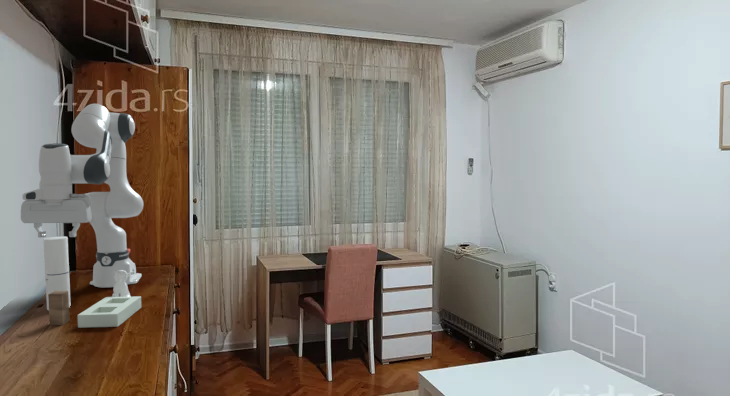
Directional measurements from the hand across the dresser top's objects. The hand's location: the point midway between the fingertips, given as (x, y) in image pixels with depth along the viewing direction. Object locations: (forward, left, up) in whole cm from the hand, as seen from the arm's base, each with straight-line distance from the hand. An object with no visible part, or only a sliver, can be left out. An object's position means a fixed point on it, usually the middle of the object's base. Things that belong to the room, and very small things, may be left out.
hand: (57, 237), depth 156 cm
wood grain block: (+2, 0, -28) cm, 28 cm away
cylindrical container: (-15, -9, -28) cm, 33 cm away
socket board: (-3, +14, -28) cm, 31 cm away
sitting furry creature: (-20, +10, -28) cm, 36 cm away
